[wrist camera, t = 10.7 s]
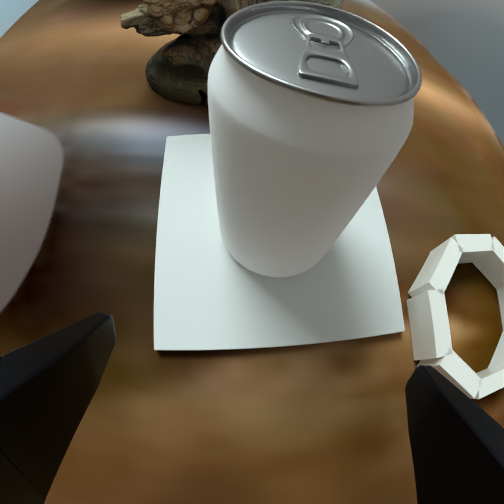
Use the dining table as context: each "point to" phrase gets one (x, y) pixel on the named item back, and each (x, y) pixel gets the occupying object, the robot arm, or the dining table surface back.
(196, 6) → the owl figurine
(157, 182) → the dining table surface
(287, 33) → the can
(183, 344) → the mat
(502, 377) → the ring
